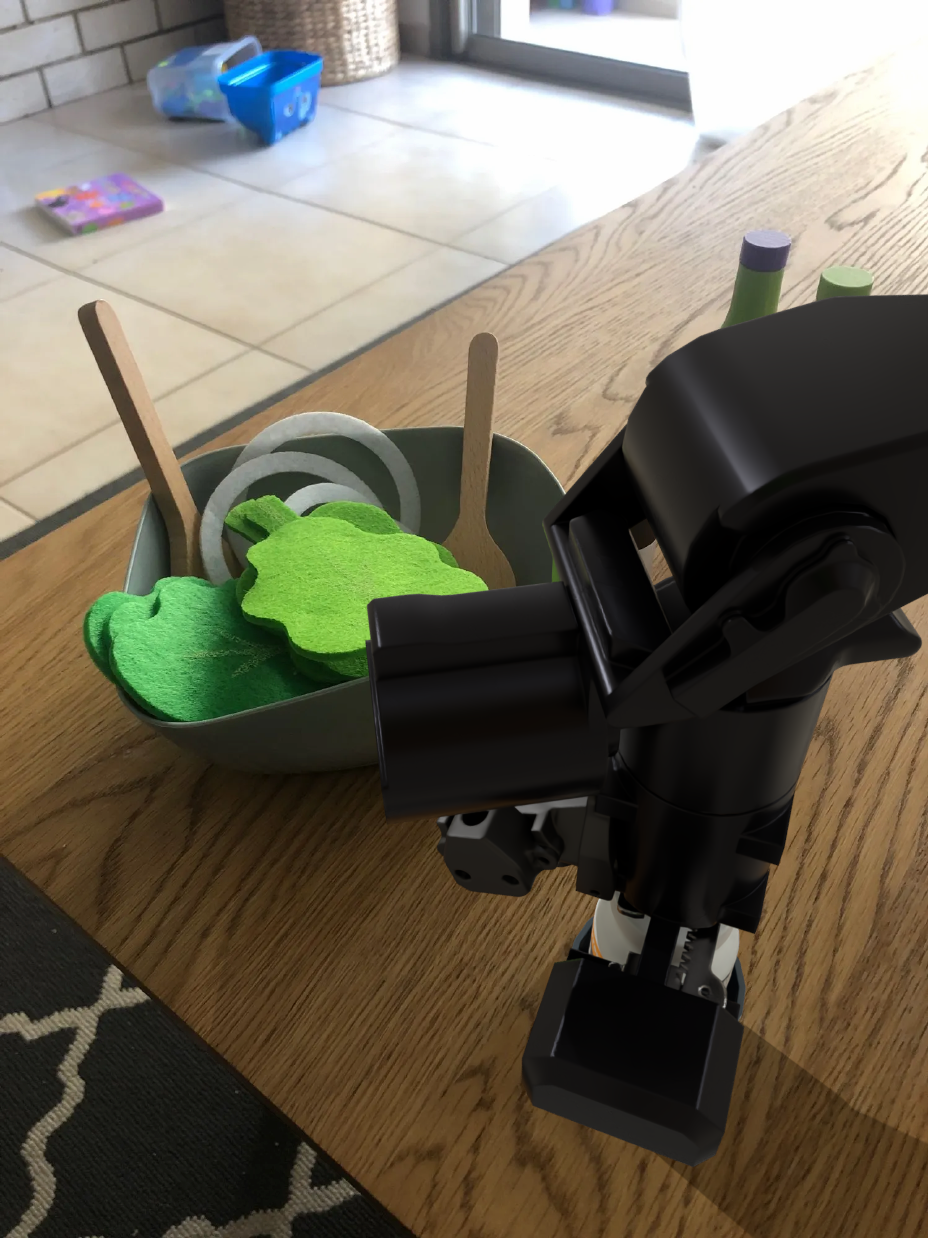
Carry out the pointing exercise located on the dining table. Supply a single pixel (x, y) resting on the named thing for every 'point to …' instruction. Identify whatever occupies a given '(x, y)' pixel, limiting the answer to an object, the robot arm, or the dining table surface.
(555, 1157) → the dining table surface
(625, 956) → the pill bottle
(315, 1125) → the dining table surface
